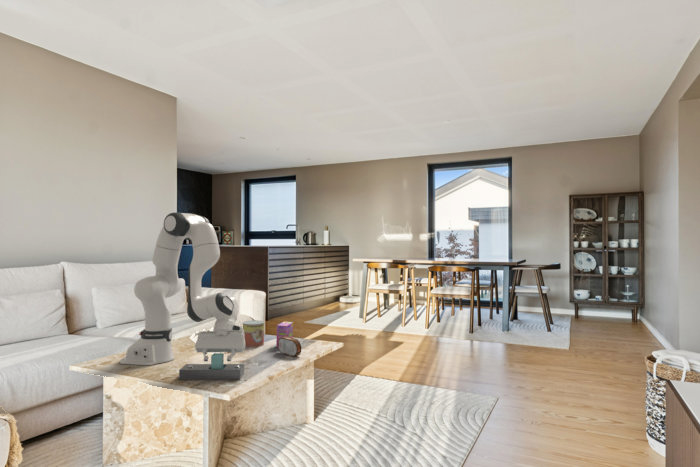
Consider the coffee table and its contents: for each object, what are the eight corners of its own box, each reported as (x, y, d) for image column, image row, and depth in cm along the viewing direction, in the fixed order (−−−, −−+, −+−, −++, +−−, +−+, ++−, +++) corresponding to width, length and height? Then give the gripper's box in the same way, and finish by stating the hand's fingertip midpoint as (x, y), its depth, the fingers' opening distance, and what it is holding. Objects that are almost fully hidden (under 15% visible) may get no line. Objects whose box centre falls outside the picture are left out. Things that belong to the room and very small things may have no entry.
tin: (301, 357, 202) (302, 339, 203) (296, 358, 200) (297, 340, 200) (281, 351, 212) (282, 334, 213) (276, 352, 210) (277, 335, 210)
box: (286, 348, 218) (286, 325, 219) (276, 347, 219) (276, 325, 220) (293, 343, 229) (293, 321, 229) (283, 343, 230) (283, 321, 230)
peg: (210, 378, 170) (211, 356, 170) (213, 375, 174) (213, 353, 174) (220, 378, 170) (221, 355, 170) (223, 375, 174) (223, 353, 174)
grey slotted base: (179, 380, 167) (179, 368, 167) (185, 373, 175) (186, 363, 175) (240, 379, 168) (240, 368, 169) (244, 373, 176) (244, 362, 177)
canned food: (249, 348, 217) (249, 325, 217) (238, 344, 226) (238, 322, 226) (267, 345, 225) (268, 322, 225) (257, 341, 233) (257, 319, 233)
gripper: (197, 327, 179) (189, 356, 169) (246, 327, 180) (241, 356, 170) (200, 335, 183) (193, 364, 173) (248, 335, 184) (243, 364, 174)
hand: (217, 360), depth 171 cm, fingers open, 8 cm apart
